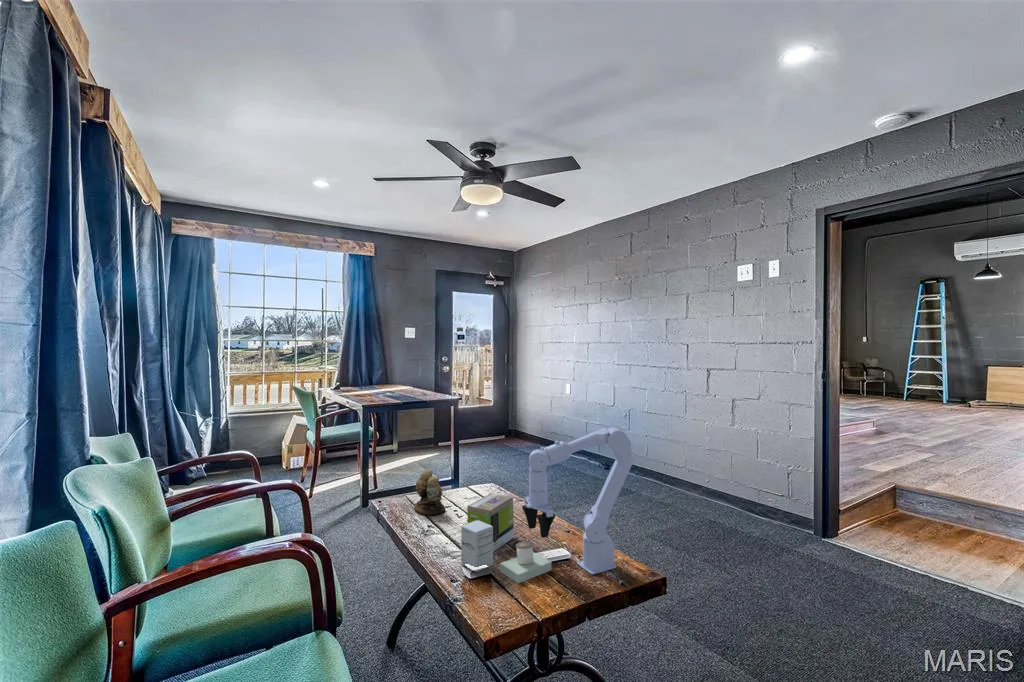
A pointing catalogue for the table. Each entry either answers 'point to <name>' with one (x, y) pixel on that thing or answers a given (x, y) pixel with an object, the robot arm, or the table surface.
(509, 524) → the tea box
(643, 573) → the table surface
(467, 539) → the supplement box
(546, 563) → the sage book
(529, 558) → the cream cup
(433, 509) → the brown rock sculpture
